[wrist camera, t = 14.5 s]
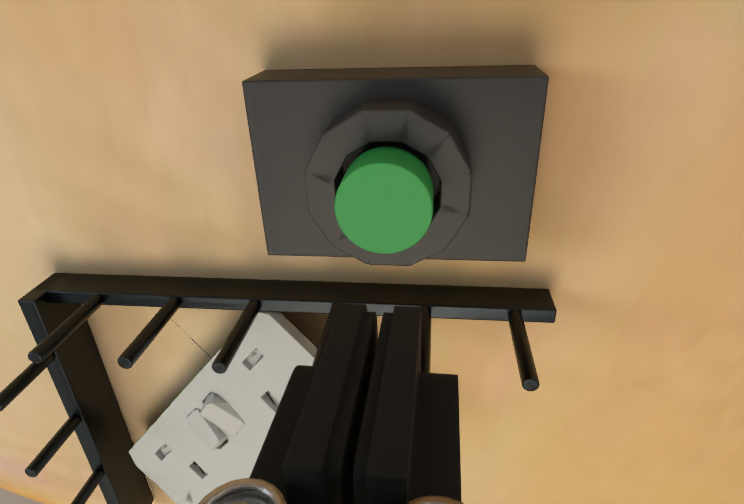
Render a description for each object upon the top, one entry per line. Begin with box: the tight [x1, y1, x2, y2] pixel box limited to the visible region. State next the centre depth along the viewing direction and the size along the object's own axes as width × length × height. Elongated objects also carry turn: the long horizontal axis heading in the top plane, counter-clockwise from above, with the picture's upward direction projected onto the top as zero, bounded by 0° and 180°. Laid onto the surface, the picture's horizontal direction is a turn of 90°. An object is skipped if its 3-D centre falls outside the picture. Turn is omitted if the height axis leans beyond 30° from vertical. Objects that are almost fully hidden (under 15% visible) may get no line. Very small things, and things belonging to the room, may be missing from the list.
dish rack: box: [0, 273, 557, 504], centre depth 30 cm, size 28×24×7 cm
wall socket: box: [129, 311, 317, 504], centre depth 31 cm, size 18×15×4 cm
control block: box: [242, 65, 549, 266], centre depth 22 cm, size 12×8×5 cm, turn 92°
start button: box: [334, 146, 433, 254], centre depth 19 cm, size 4×4×2 cm
